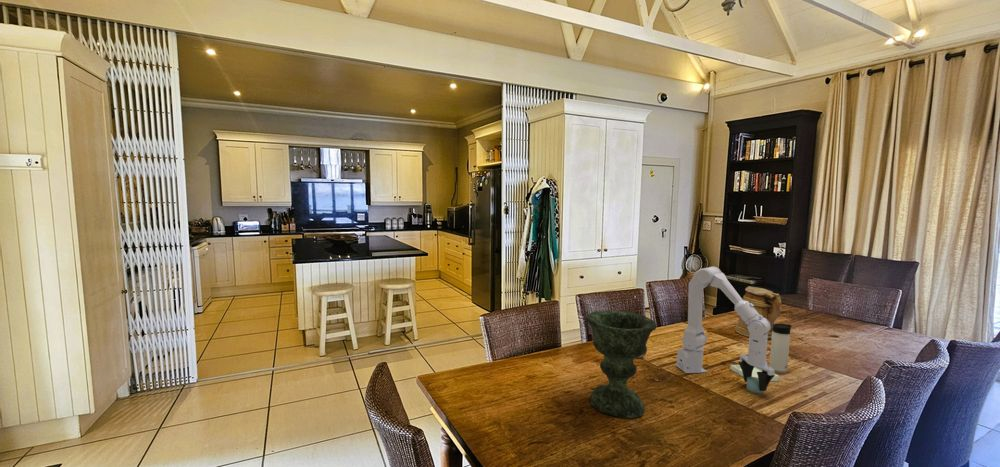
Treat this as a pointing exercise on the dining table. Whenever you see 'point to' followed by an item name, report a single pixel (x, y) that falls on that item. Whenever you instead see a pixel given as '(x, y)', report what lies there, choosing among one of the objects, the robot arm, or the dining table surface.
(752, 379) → the tabbed cylinder
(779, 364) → the travel mug
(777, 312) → the tankard
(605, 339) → the goblet
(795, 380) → the dining table surface
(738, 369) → the tray
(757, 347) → the robot arm
